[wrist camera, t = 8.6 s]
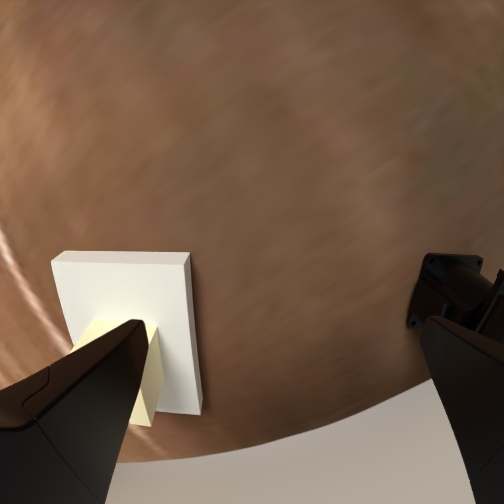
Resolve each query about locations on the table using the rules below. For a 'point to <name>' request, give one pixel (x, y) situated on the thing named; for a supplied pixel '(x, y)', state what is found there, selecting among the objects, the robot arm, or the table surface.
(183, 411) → the notebook
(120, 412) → the robot arm
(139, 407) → the sticky note cube
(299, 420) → the table surface
